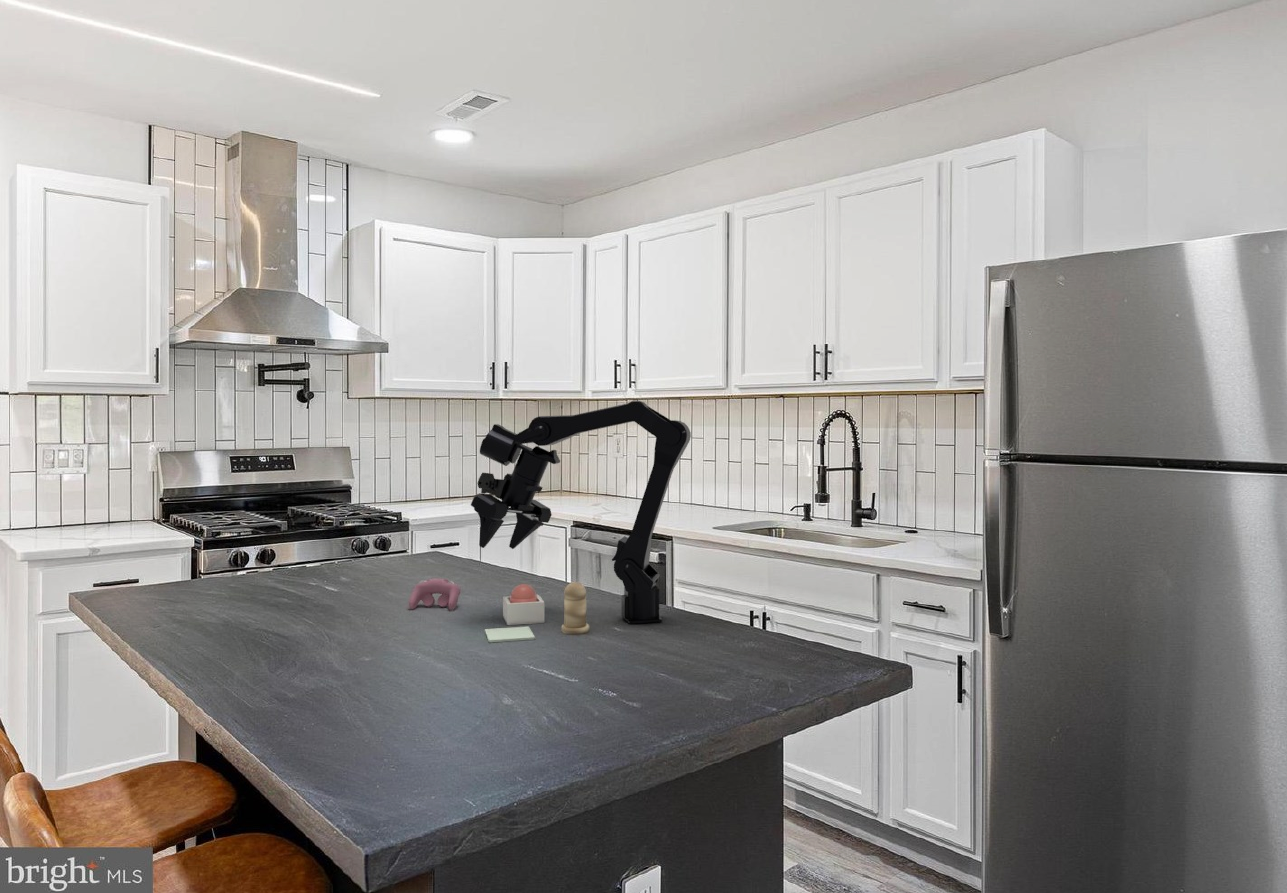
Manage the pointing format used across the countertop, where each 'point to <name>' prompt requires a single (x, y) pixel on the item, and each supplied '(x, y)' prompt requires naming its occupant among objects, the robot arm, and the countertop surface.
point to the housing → (523, 611)
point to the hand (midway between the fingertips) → (496, 547)
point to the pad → (509, 634)
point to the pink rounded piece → (523, 594)
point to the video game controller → (434, 586)
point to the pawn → (575, 609)
